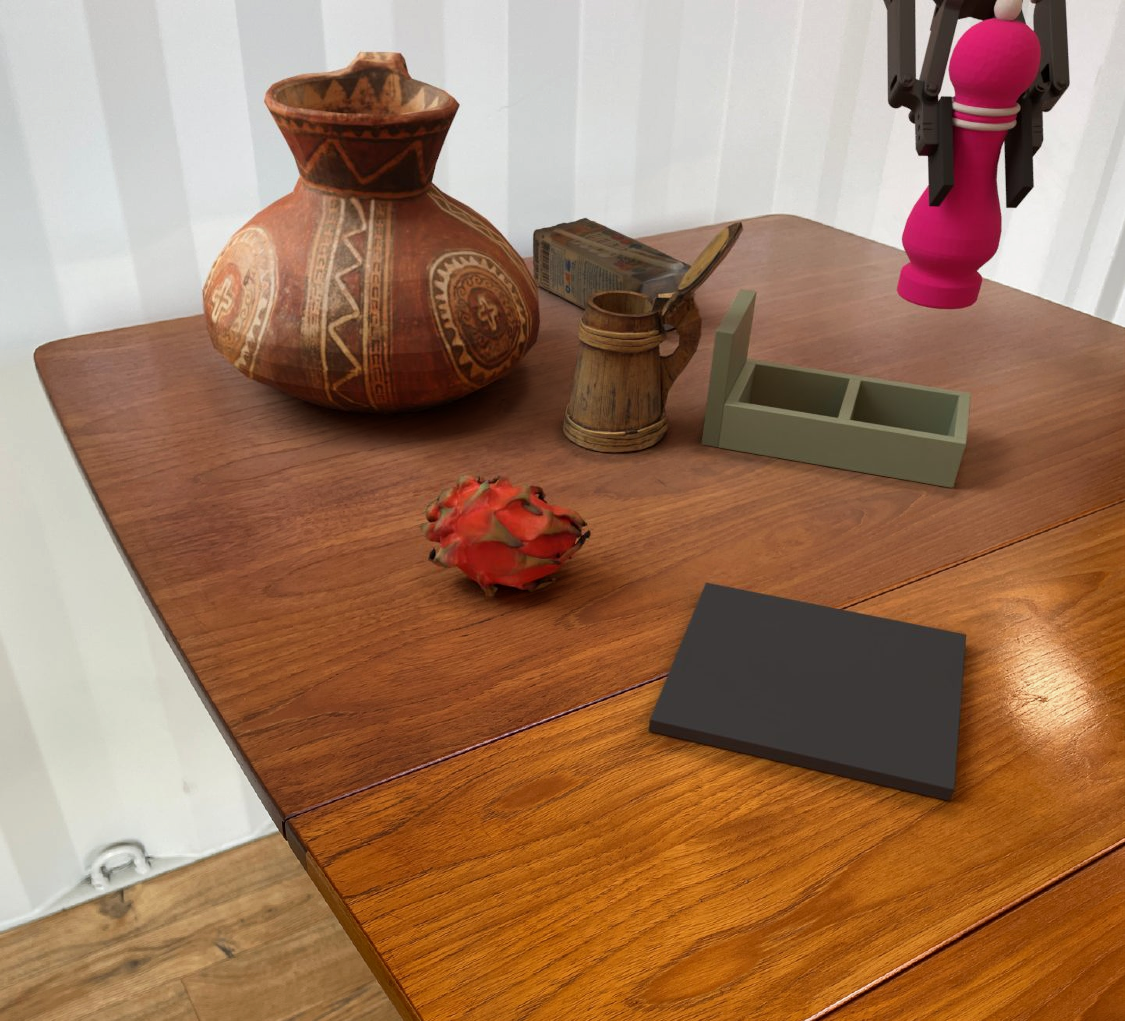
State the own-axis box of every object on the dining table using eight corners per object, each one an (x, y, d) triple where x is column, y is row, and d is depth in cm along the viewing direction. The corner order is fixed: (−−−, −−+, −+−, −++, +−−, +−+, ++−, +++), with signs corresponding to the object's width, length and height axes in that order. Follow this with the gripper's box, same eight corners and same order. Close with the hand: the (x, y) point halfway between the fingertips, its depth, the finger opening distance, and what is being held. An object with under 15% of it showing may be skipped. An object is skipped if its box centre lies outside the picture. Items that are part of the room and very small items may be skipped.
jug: (586, 423, 97) (601, 106, 80) (247, 474, 88) (185, 130, 72) (480, 306, 118) (475, 34, 101) (197, 338, 109) (139, 45, 92)
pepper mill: (979, 318, 83) (1067, 2, 69) (884, 304, 84) (952, -7, 71) (986, 288, 88) (1069, -11, 74) (896, 275, 89) (961, -19, 76)
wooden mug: (713, 463, 92) (743, 240, 80) (556, 448, 93) (563, 226, 81) (716, 418, 99) (745, 205, 87) (569, 404, 100) (578, 193, 88)
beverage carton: (637, 341, 112) (642, 275, 107) (528, 286, 123) (528, 224, 118) (694, 325, 115) (701, 260, 111) (583, 273, 126) (586, 212, 122)
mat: (962, 645, 74) (966, 633, 73) (950, 801, 62) (954, 789, 62) (704, 593, 77) (705, 581, 77) (648, 731, 66) (649, 719, 65)
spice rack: (958, 435, 98) (991, 324, 91) (952, 488, 90) (988, 371, 84) (725, 397, 102) (740, 288, 96) (701, 445, 95) (715, 330, 88)
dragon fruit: (412, 589, 79) (572, 610, 81) (412, 584, 71) (590, 607, 73) (425, 472, 79) (587, 495, 80) (426, 453, 70) (606, 479, 72)
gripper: (1066, -67, 83) (1076, 227, 82) (834, -74, 82) (840, 223, 81) (1121, -154, 76) (1133, 168, 74) (866, -163, 75) (874, 163, 74)
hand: (980, 196), depth 78 cm, fingers closed on pepper mill, 5 cm apart
